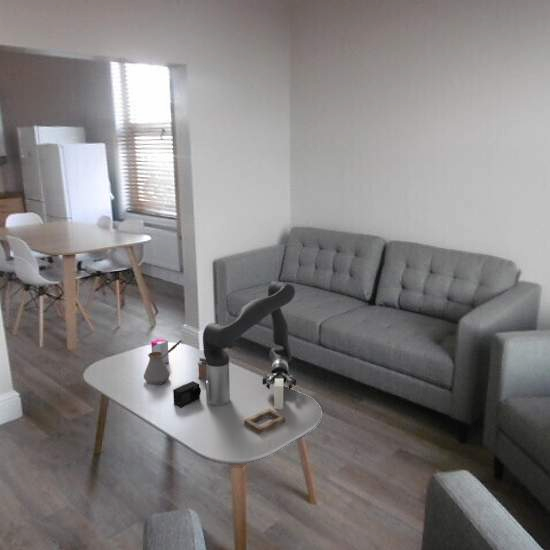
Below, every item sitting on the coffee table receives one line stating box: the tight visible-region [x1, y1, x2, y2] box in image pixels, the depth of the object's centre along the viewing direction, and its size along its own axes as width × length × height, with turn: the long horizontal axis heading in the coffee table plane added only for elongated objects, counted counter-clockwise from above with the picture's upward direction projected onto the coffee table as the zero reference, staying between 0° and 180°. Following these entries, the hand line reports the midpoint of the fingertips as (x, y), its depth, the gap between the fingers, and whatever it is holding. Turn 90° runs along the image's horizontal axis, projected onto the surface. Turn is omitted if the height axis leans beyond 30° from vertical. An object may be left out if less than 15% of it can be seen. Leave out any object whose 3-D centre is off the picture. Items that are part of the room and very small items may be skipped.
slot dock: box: [243, 407, 286, 435], centre depth 200 cm, size 13×9×2 cm
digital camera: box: [172, 380, 202, 409], centre depth 215 cm, size 10×5×7 cm, turn 138°
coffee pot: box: [143, 339, 184, 386], centre depth 236 cm, size 21×12×15 cm, turn 141°
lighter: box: [197, 357, 207, 381], centre depth 235 cm, size 8×3×10 cm, turn 74°
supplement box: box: [150, 338, 170, 365], centre depth 251 cm, size 6×6×12 cm
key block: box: [273, 379, 284, 410], centre depth 213 cm, size 4×7×10 cm, turn 178°
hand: (279, 387), depth 216 cm, fingers open, 8 cm apart
